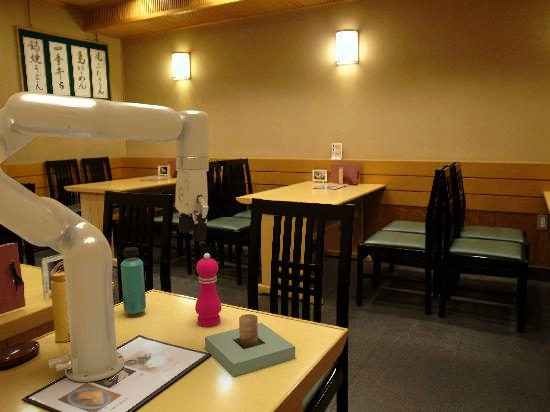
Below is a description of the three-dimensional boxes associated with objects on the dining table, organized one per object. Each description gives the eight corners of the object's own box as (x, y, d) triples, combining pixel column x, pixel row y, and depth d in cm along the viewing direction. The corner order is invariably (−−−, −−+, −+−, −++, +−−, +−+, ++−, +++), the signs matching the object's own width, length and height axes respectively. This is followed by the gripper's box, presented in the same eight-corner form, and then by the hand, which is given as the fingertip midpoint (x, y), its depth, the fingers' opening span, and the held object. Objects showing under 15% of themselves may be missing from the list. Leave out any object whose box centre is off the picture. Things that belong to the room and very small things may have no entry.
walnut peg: (245, 359, 110) (244, 322, 108) (236, 351, 114) (235, 316, 112) (261, 354, 112) (260, 318, 111) (252, 347, 116) (252, 312, 114)
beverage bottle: (151, 312, 138) (148, 246, 135) (133, 320, 133) (129, 251, 129) (136, 308, 142) (132, 244, 138) (118, 315, 136) (114, 248, 133)
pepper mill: (208, 330, 126) (206, 258, 123) (190, 323, 130) (187, 253, 127) (227, 321, 132) (225, 252, 128) (208, 315, 136) (206, 248, 133)
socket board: (234, 377, 102) (233, 364, 101) (205, 348, 115) (204, 336, 115) (295, 358, 110) (295, 346, 110) (261, 333, 124) (261, 322, 123)
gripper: (165, 162, 115) (166, 230, 117) (189, 167, 100) (189, 245, 102) (194, 162, 118) (194, 228, 121) (221, 166, 104) (221, 242, 106)
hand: (192, 236), depth 112 cm, fingers open, 9 cm apart
